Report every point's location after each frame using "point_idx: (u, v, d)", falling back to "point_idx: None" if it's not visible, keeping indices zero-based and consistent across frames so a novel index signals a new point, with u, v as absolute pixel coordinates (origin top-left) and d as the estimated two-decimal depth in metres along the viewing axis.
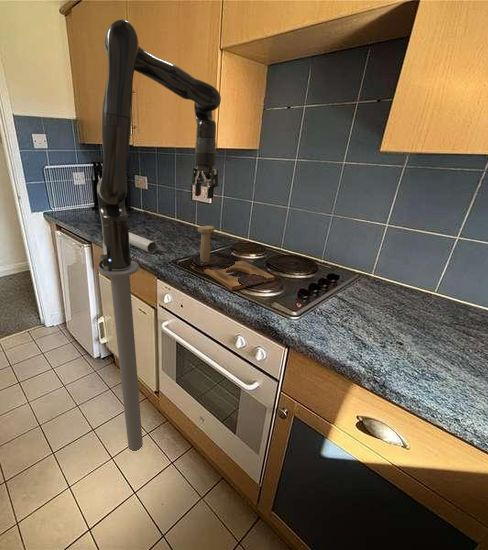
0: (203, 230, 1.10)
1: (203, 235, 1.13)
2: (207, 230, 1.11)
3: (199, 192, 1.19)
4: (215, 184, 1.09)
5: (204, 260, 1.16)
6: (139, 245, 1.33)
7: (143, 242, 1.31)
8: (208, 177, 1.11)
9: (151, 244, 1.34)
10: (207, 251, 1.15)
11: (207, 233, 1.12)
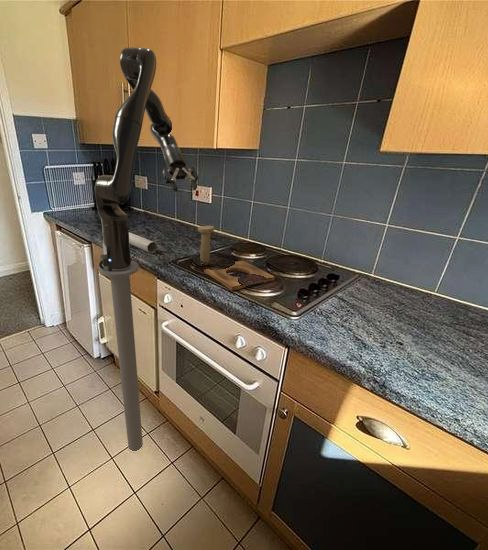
0: (203, 230, 1.10)
1: (203, 235, 1.13)
2: (207, 230, 1.11)
3: None
4: None
5: (204, 260, 1.16)
6: (139, 245, 1.33)
7: (143, 242, 1.31)
8: None
9: (151, 244, 1.34)
10: (207, 251, 1.15)
11: (207, 233, 1.12)
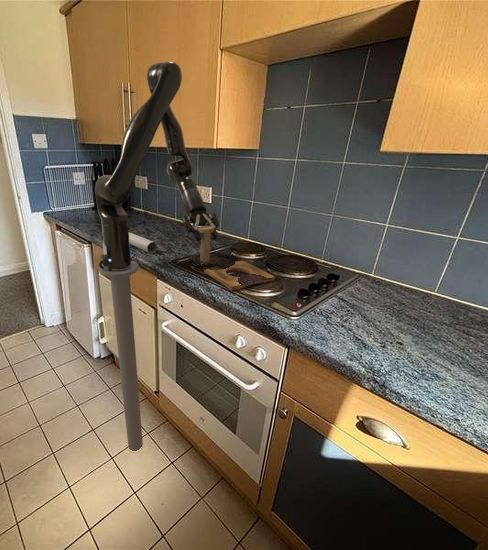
0: (203, 230, 1.10)
1: (203, 235, 1.12)
2: (207, 230, 1.11)
3: None
4: None
5: (204, 260, 1.16)
6: (139, 245, 1.33)
7: (143, 242, 1.31)
8: None
9: (151, 244, 1.34)
10: (207, 251, 1.15)
11: (207, 233, 1.12)
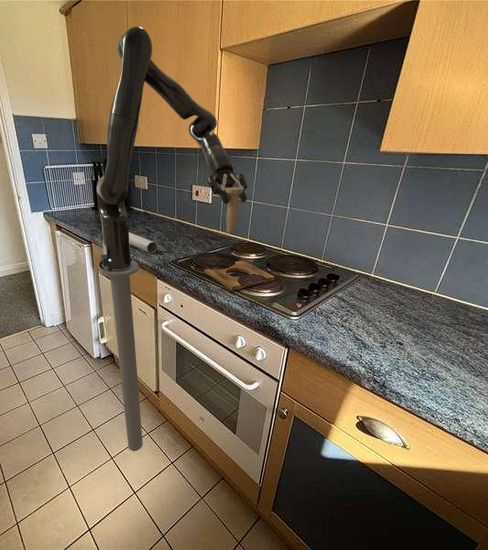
0: (231, 190, 0.97)
1: (231, 197, 0.99)
2: (236, 190, 0.97)
3: None
4: None
5: (231, 226, 1.03)
6: (139, 245, 1.33)
7: (143, 242, 1.31)
8: None
9: (151, 244, 1.34)
10: (235, 216, 1.01)
11: (236, 194, 0.98)
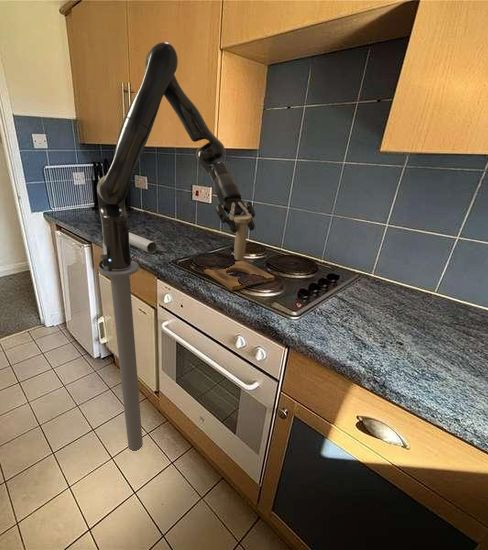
0: (240, 220, 0.98)
1: (239, 226, 1.00)
2: (244, 220, 0.98)
3: None
4: None
5: (239, 254, 1.04)
6: (139, 245, 1.33)
7: (143, 242, 1.31)
8: None
9: (151, 244, 1.34)
10: (243, 244, 1.02)
11: (244, 223, 0.99)
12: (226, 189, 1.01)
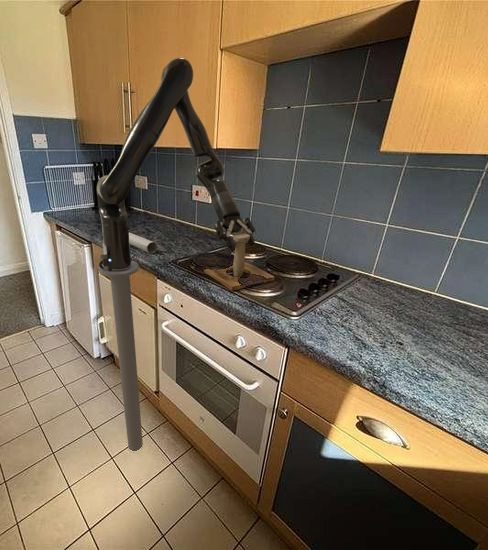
0: (239, 239, 1.00)
1: (238, 244, 1.03)
2: (243, 239, 1.01)
3: None
4: None
5: (238, 271, 1.06)
6: (139, 245, 1.33)
7: (143, 242, 1.31)
8: None
9: (151, 244, 1.34)
10: (242, 261, 1.05)
11: (243, 242, 1.02)
12: (225, 207, 1.04)
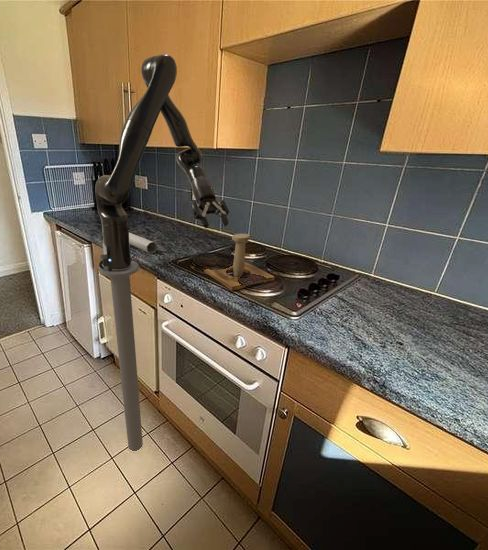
0: (239, 239, 1.00)
1: (238, 244, 1.03)
2: (243, 239, 1.01)
3: None
4: None
5: (238, 271, 1.06)
6: (139, 245, 1.33)
7: (143, 242, 1.31)
8: None
9: (151, 244, 1.34)
10: (242, 261, 1.05)
11: (243, 242, 1.02)
12: (201, 190, 1.14)
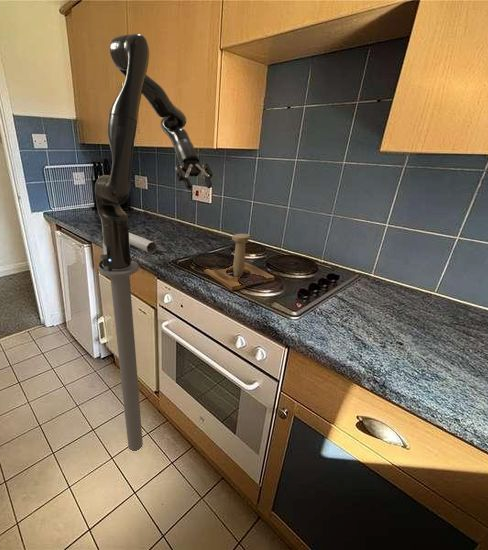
0: (239, 239, 1.00)
1: (238, 244, 1.03)
2: (243, 239, 1.01)
3: None
4: None
5: (238, 271, 1.06)
6: (138, 245, 1.33)
7: (142, 242, 1.31)
8: None
9: (150, 244, 1.34)
10: (242, 261, 1.05)
11: (243, 242, 1.02)
12: (185, 152, 1.14)
